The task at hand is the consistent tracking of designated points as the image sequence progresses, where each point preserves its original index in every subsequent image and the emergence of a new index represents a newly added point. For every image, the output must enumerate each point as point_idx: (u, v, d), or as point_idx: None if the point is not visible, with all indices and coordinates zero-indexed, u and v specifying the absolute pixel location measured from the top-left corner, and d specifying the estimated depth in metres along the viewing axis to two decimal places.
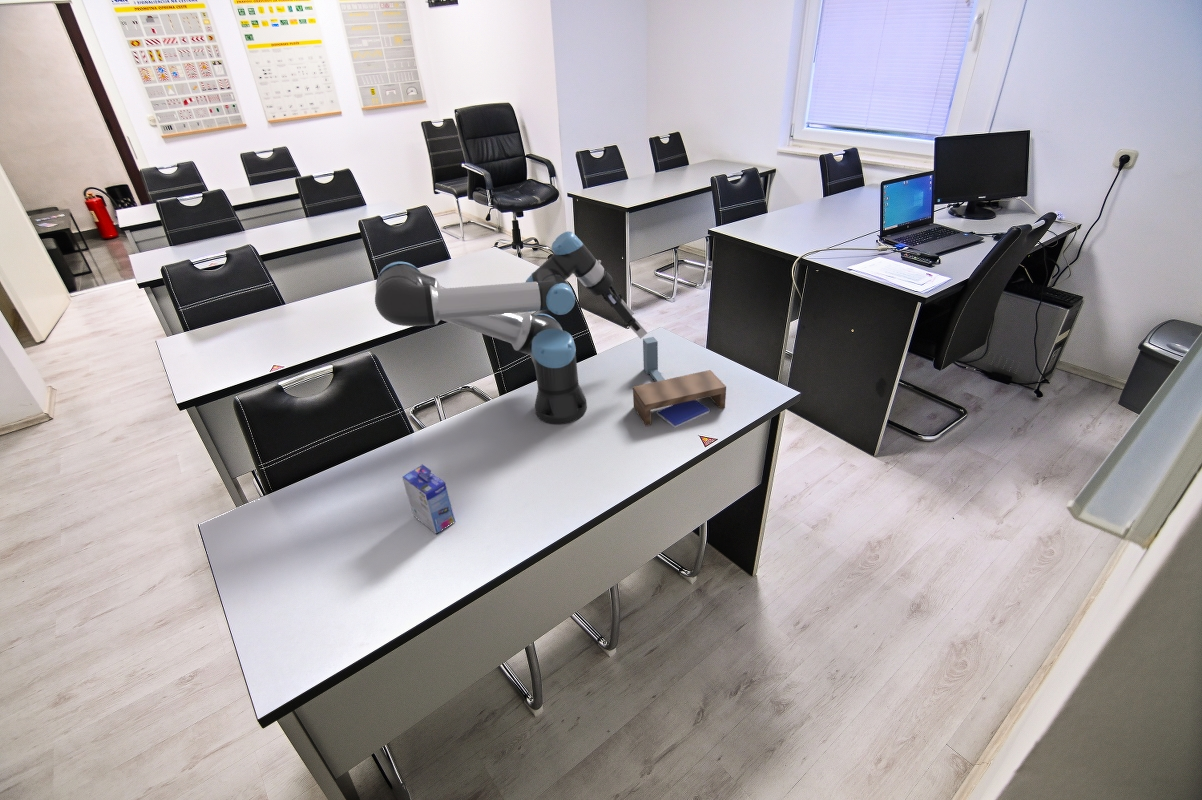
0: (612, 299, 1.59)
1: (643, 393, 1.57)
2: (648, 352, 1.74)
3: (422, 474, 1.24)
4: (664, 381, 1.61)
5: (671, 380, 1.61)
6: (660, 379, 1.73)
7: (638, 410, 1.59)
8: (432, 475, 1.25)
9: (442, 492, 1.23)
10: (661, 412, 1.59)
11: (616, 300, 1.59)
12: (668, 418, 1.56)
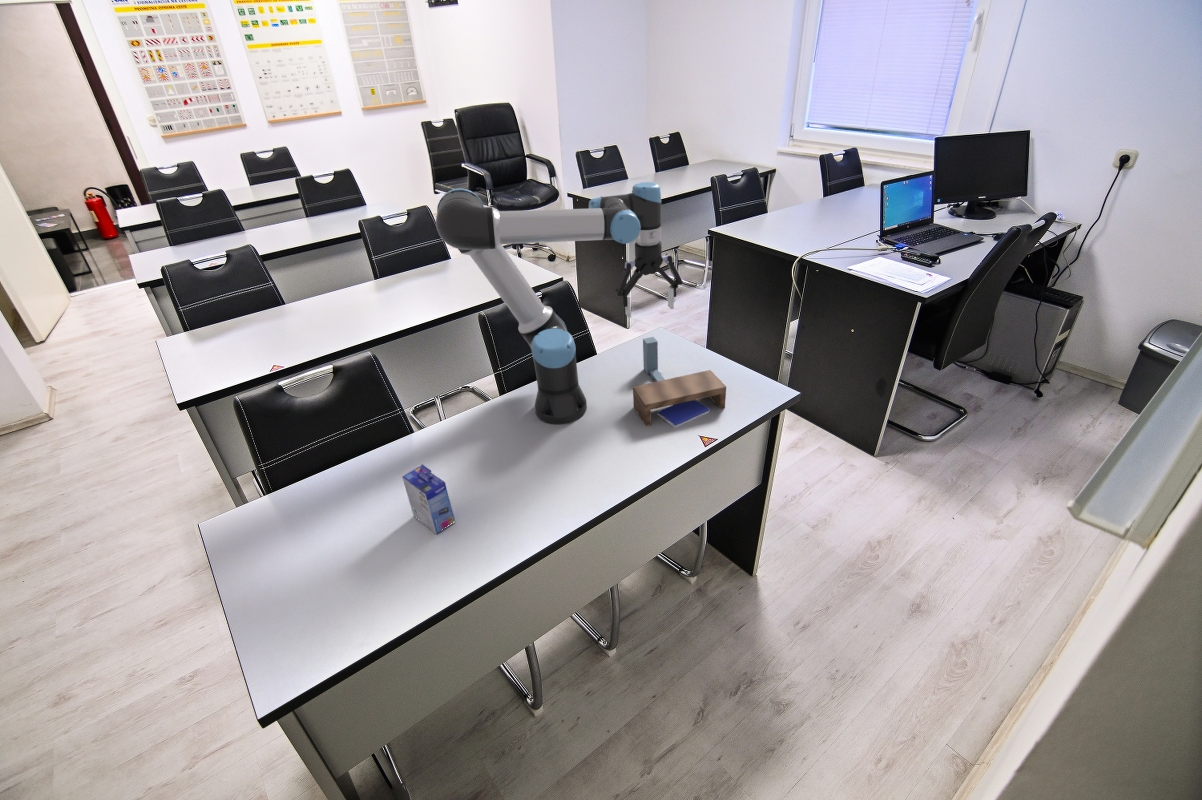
0: (625, 264, 1.59)
1: (643, 393, 1.57)
2: (648, 352, 1.74)
3: (422, 474, 1.24)
4: (664, 381, 1.61)
5: (671, 380, 1.61)
6: (660, 379, 1.73)
7: (638, 410, 1.59)
8: (432, 475, 1.25)
9: (442, 492, 1.23)
10: (661, 412, 1.59)
11: (626, 268, 1.59)
12: (668, 418, 1.56)
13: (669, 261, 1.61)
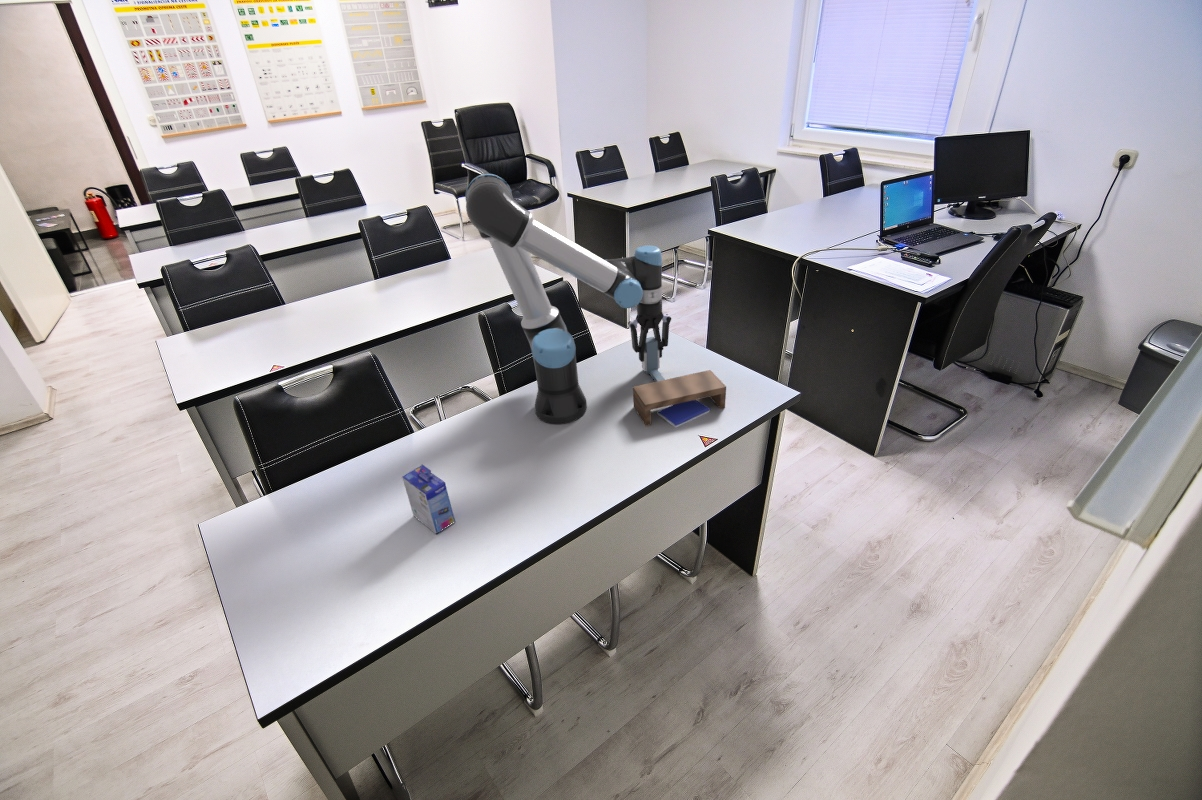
0: (629, 325, 1.70)
1: (643, 393, 1.57)
2: (648, 352, 1.74)
3: (422, 474, 1.24)
4: (664, 381, 1.61)
5: (671, 380, 1.61)
6: (660, 379, 1.73)
7: (638, 410, 1.59)
8: (432, 475, 1.25)
9: (442, 492, 1.23)
10: (662, 412, 1.59)
11: (631, 329, 1.70)
12: (669, 418, 1.56)
13: (667, 321, 1.71)
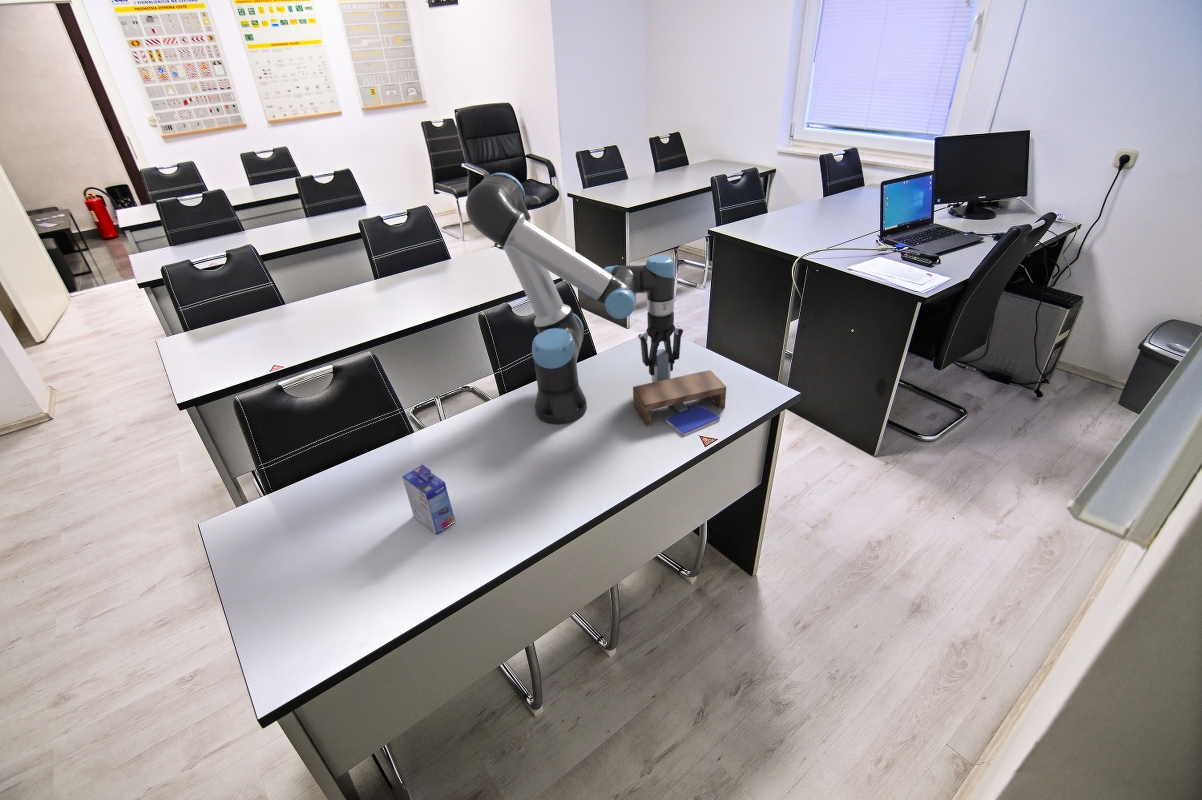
0: (639, 338, 1.62)
1: (643, 393, 1.57)
2: (658, 364, 1.67)
3: (422, 474, 1.24)
4: (664, 381, 1.61)
5: (671, 380, 1.61)
6: None
7: (638, 410, 1.59)
8: (432, 475, 1.25)
9: (442, 492, 1.23)
10: (670, 419, 1.56)
11: (641, 342, 1.62)
12: (677, 426, 1.53)
13: (679, 333, 1.64)
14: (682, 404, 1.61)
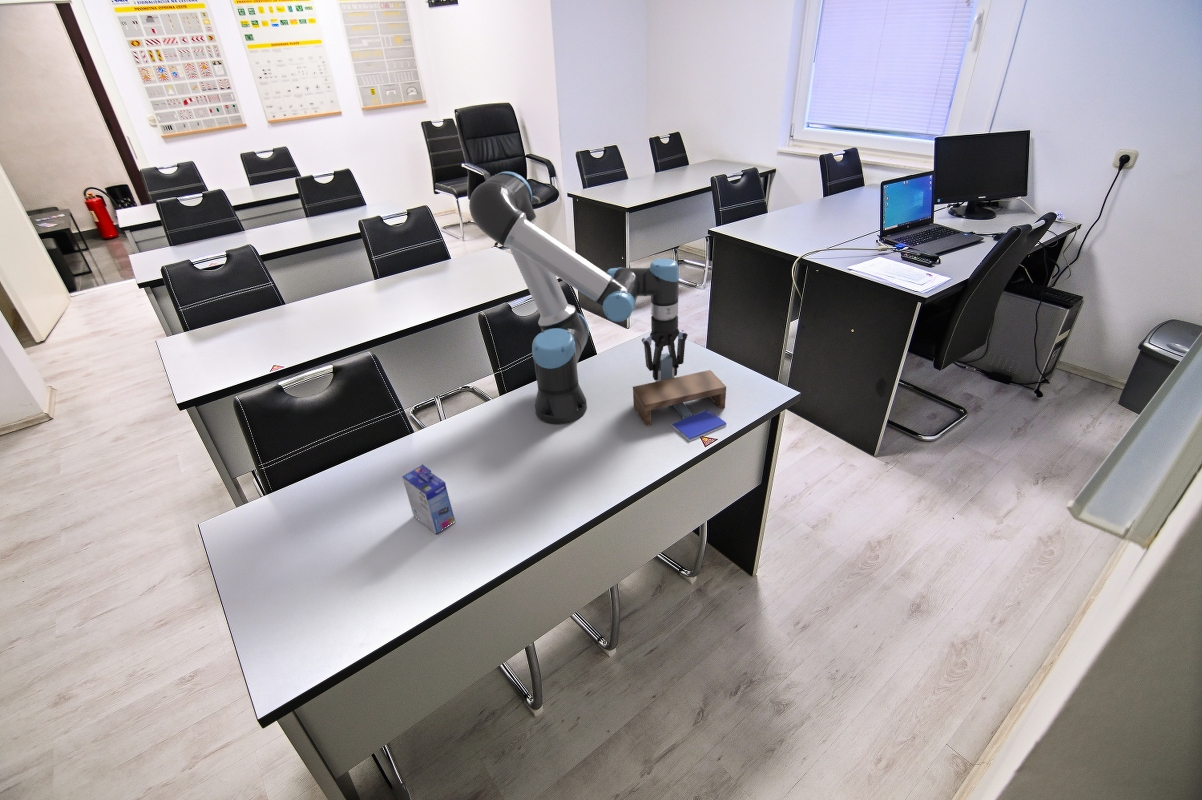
0: (643, 343, 1.60)
1: (643, 393, 1.57)
2: (662, 369, 1.65)
3: (422, 474, 1.24)
4: (664, 381, 1.61)
5: (671, 380, 1.61)
6: None
7: (638, 410, 1.59)
8: (432, 475, 1.25)
9: (442, 492, 1.23)
10: (676, 425, 1.54)
11: (645, 346, 1.60)
12: (683, 431, 1.51)
13: (683, 338, 1.62)
14: (686, 409, 1.58)
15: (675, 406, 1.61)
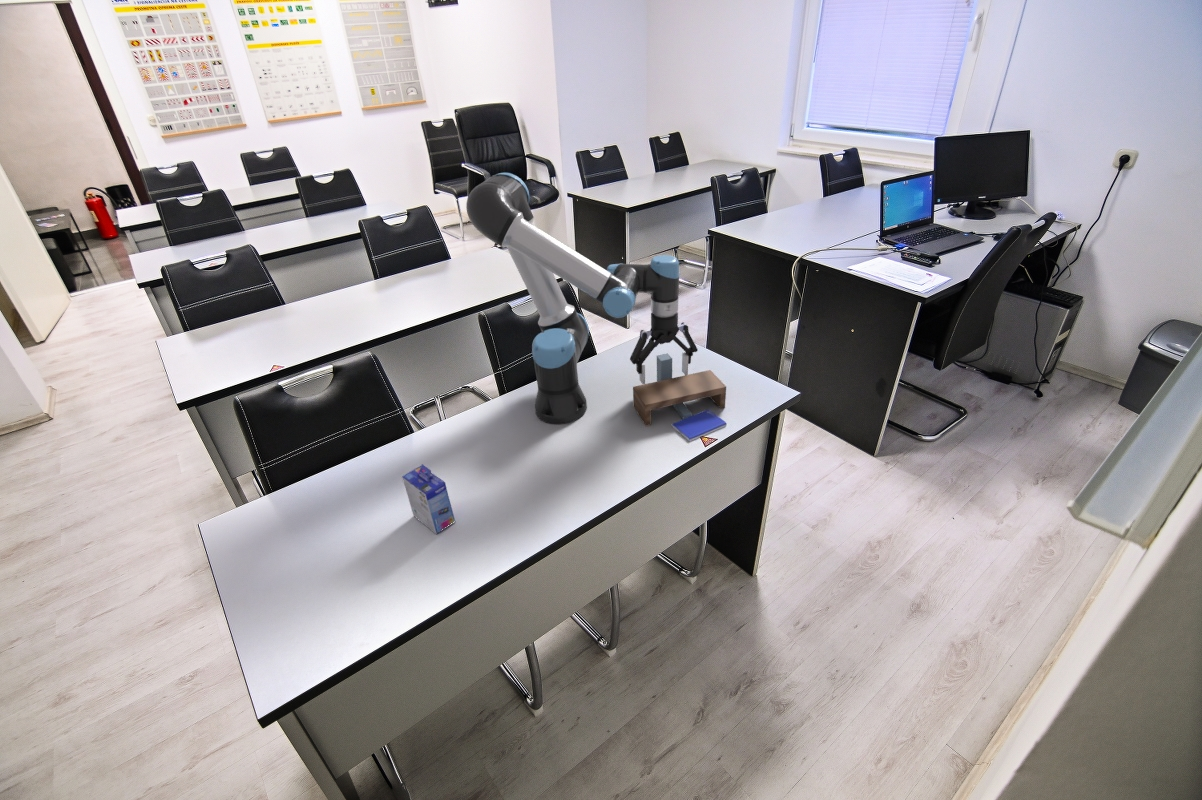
0: (641, 333, 1.58)
1: (643, 393, 1.57)
2: (662, 369, 1.65)
3: (422, 474, 1.24)
4: (664, 381, 1.61)
5: (671, 380, 1.61)
6: None
7: (638, 410, 1.59)
8: (432, 475, 1.25)
9: (442, 492, 1.23)
10: (676, 424, 1.54)
11: (642, 337, 1.58)
12: (683, 431, 1.51)
13: (685, 330, 1.61)
14: (686, 410, 1.58)
15: (675, 406, 1.61)
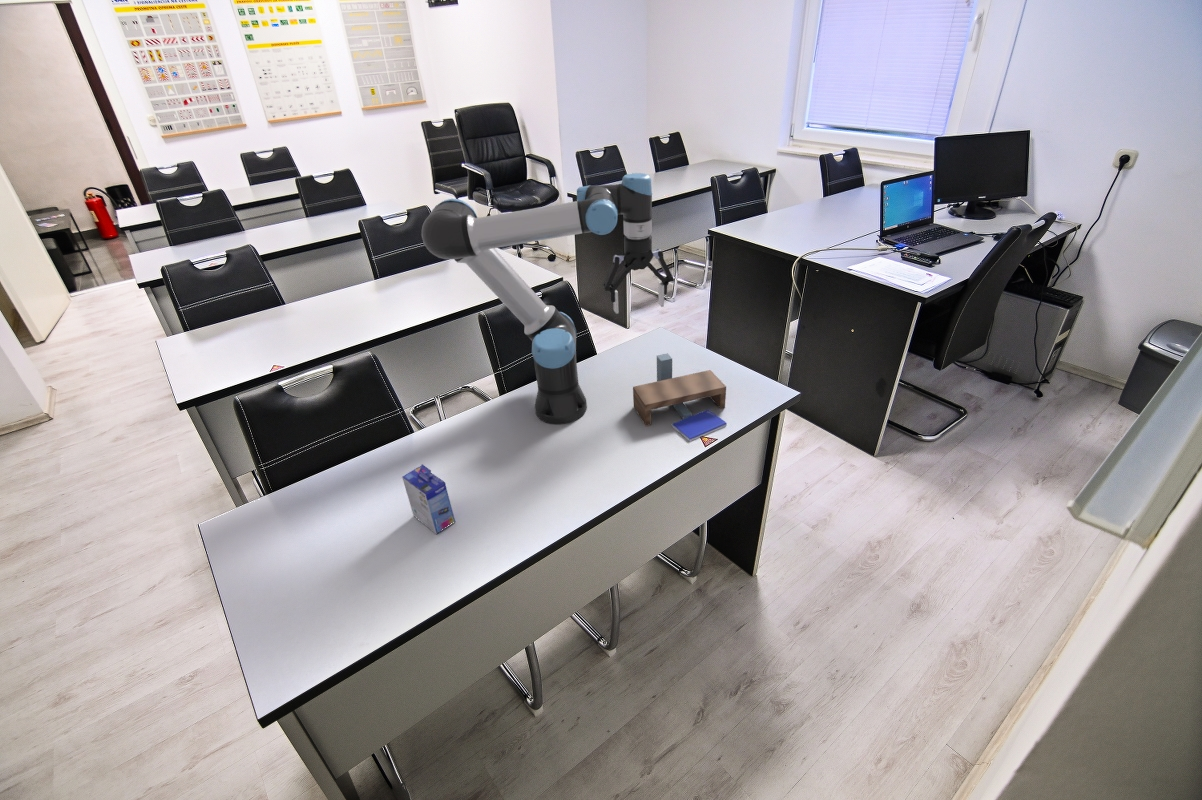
0: (614, 258, 1.53)
1: (643, 393, 1.57)
2: (662, 369, 1.65)
3: (422, 474, 1.24)
4: (664, 381, 1.61)
5: (671, 380, 1.61)
6: None
7: (638, 410, 1.59)
8: (432, 475, 1.25)
9: (442, 492, 1.23)
10: (676, 424, 1.54)
11: (614, 262, 1.53)
12: (683, 431, 1.51)
13: (660, 257, 1.55)
14: (686, 410, 1.58)
15: (675, 406, 1.61)
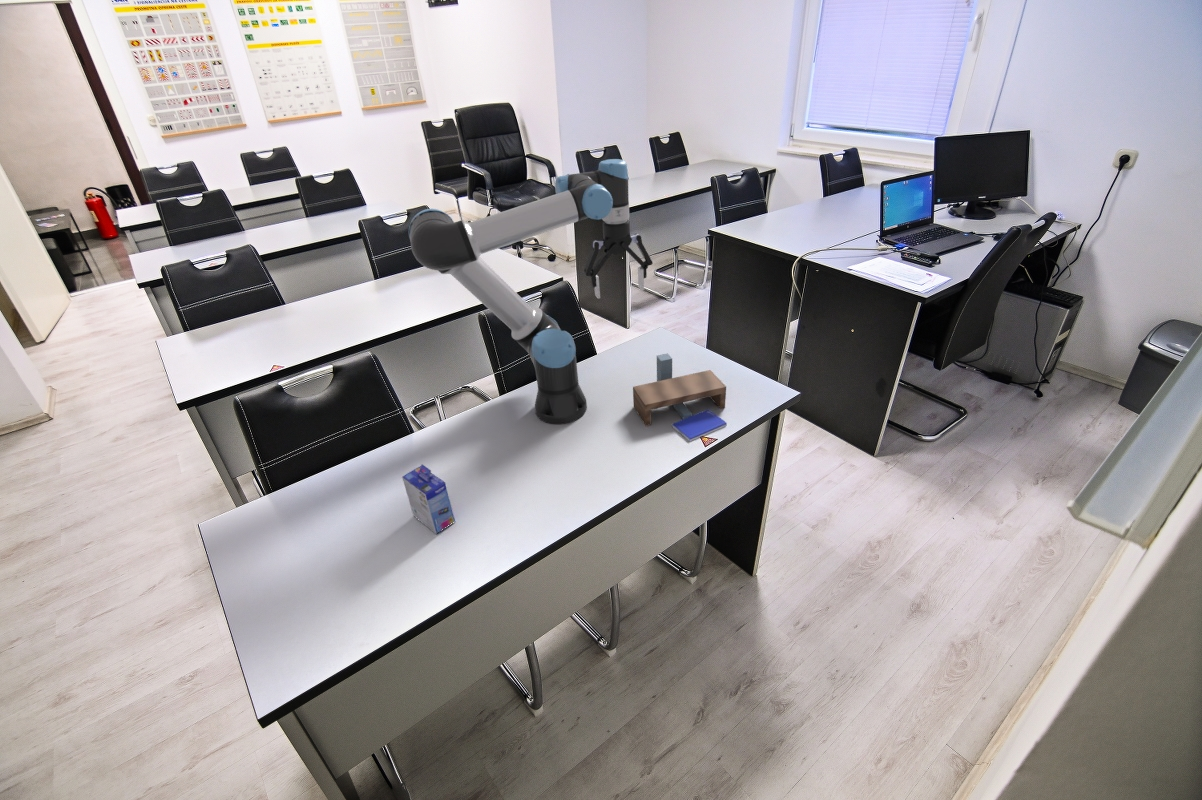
0: (593, 243, 1.57)
1: (643, 393, 1.57)
2: (662, 369, 1.65)
3: (422, 474, 1.24)
4: (664, 381, 1.61)
5: (671, 380, 1.61)
6: None
7: (638, 410, 1.59)
8: (432, 475, 1.25)
9: (442, 492, 1.23)
10: (676, 424, 1.54)
11: (594, 247, 1.57)
12: (683, 431, 1.51)
13: (638, 241, 1.59)
14: (686, 410, 1.58)
15: (675, 406, 1.61)
